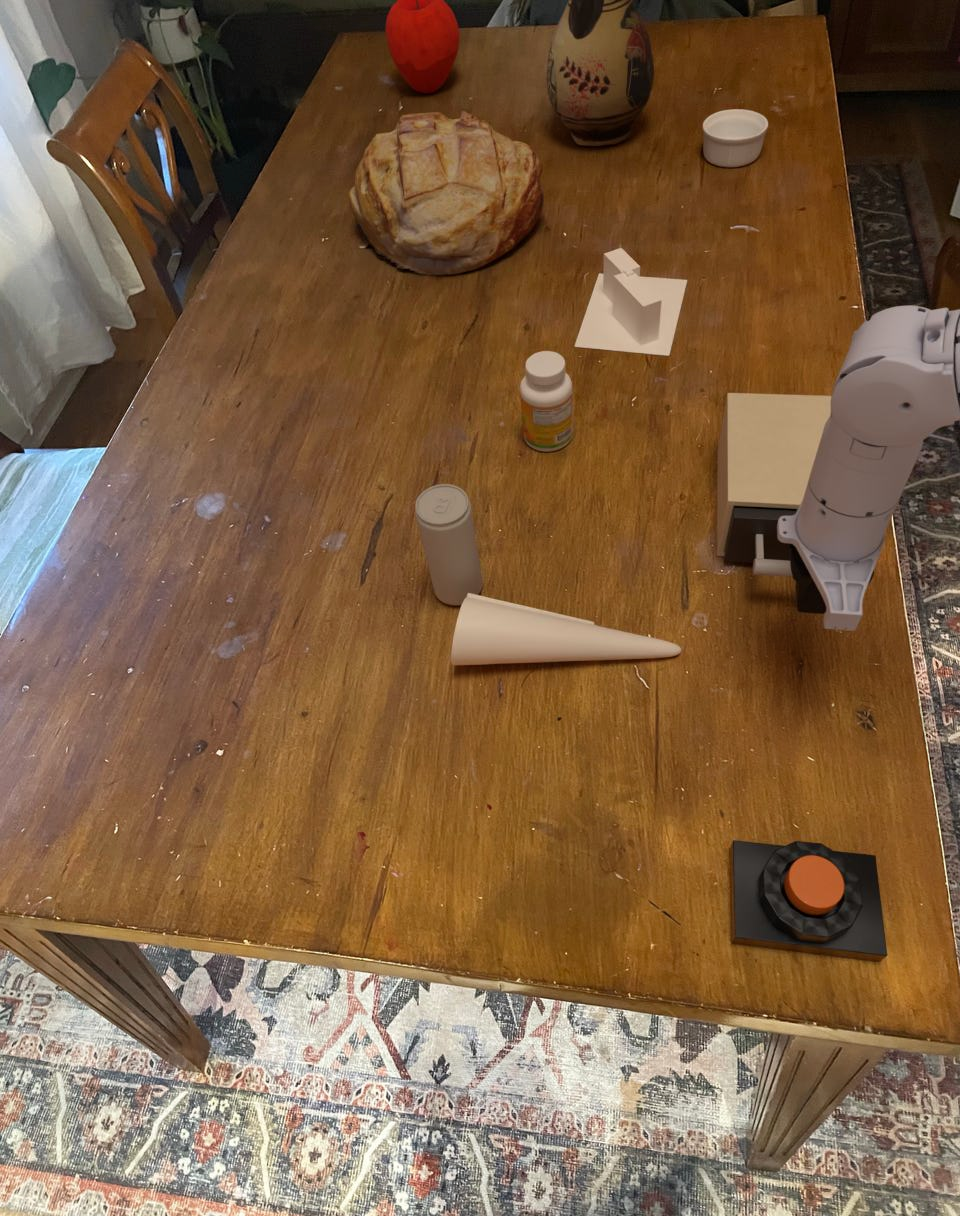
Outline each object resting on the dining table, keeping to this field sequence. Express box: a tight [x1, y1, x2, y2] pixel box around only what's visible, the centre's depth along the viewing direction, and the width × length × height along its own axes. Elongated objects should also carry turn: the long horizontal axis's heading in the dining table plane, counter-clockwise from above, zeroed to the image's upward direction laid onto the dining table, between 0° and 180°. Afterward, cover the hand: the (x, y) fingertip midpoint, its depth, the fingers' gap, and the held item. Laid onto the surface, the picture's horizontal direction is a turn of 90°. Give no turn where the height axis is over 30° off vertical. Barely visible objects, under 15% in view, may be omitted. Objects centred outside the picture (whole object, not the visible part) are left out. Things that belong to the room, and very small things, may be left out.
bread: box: [348, 108, 545, 276], centre depth 113 cm, size 25×27×15 cm
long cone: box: [450, 593, 682, 666], centre depth 74 cm, size 6×6×19 cm
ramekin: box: [702, 108, 769, 168], centre depth 120 cm, size 9×9×4 cm
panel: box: [729, 839, 888, 963], centre depth 60 cm, size 10×7×4 cm
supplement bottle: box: [519, 350, 574, 453], centre depth 88 cm, size 5×5×10 cm
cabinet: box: [716, 392, 832, 557], centre depth 80 cm, size 14×11×8 cm
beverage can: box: [414, 483, 484, 606], centre depth 76 cm, size 5×5×12 cm
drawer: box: [723, 506, 798, 578], centre depth 78 cm, size 18×10×6 cm, turn 171°
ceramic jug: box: [546, 0, 655, 147], centre depth 117 cm, size 17×15×30 cm
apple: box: [384, 0, 461, 94], centre depth 139 cm, size 12×12×13 cm
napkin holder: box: [574, 247, 688, 357], centre depth 101 cm, size 15×11×6 cm
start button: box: [784, 855, 844, 915], centre depth 58 cm, size 4×4×2 cm
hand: (810, 606), depth 67 cm, fingers closed
